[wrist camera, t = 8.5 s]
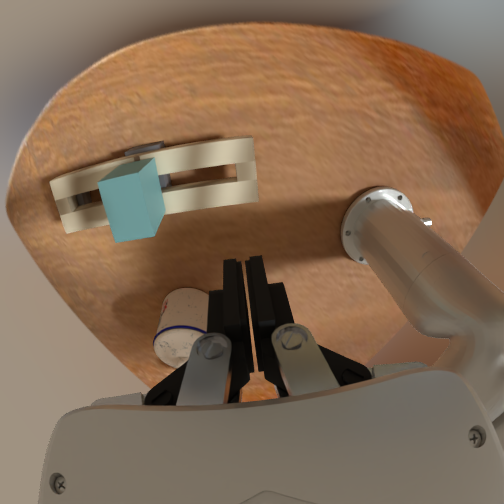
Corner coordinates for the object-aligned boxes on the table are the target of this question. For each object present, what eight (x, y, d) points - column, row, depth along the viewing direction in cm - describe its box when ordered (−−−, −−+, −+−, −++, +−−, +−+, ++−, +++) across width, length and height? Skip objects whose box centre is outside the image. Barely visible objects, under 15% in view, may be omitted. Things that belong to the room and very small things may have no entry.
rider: (158, 153, 27) (138, 172, 21) (168, 204, 30) (154, 236, 24) (124, 161, 27) (97, 182, 20) (136, 210, 30) (115, 242, 24)
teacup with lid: (155, 286, 40) (141, 345, 30) (214, 283, 41) (214, 343, 31) (171, 339, 46) (165, 394, 36) (221, 337, 47) (224, 393, 37)
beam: (248, 127, 30) (252, 132, 26) (254, 191, 34) (259, 206, 30) (67, 166, 29) (47, 177, 25) (83, 220, 33) (67, 237, 29)
